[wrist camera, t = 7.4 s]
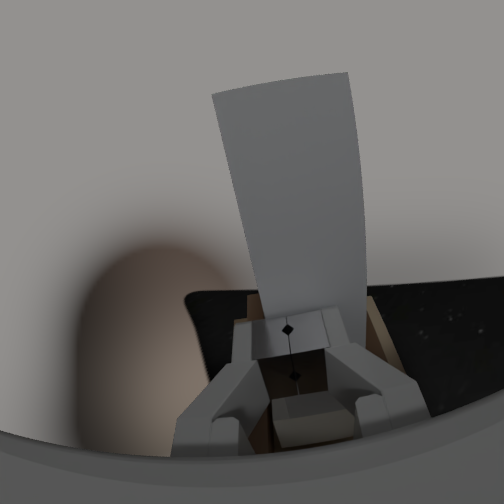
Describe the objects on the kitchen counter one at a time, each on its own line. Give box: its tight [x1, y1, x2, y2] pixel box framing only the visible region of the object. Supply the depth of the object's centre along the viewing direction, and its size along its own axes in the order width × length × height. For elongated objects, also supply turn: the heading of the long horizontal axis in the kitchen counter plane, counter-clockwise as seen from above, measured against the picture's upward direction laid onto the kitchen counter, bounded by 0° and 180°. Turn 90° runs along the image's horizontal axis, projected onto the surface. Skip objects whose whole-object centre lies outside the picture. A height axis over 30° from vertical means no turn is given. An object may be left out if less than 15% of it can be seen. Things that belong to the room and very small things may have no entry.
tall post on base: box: [212, 72, 367, 448], centre depth 11 cm, size 4×4×15 cm
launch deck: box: [233, 294, 406, 455], centre depth 16 cm, size 10×20×11 cm, turn 0°
